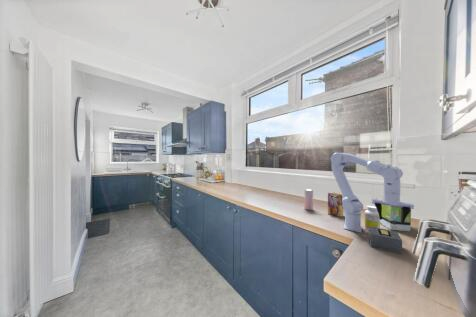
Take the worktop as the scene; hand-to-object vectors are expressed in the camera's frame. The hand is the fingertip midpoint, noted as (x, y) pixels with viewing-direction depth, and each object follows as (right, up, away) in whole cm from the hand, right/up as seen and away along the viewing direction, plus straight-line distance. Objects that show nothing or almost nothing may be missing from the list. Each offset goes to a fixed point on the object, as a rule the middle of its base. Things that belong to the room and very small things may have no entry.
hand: (391, 220), depth 79 cm
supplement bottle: (+2, -10, +14) cm, 18 cm away
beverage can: (-18, -10, +49) cm, 53 cm away
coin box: (-6, -10, -3) cm, 12 cm away
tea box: (+19, -11, +20) cm, 29 cm away
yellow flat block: (-6, -10, -3) cm, 12 cm away
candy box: (-5, -10, +37) cm, 39 cm away
